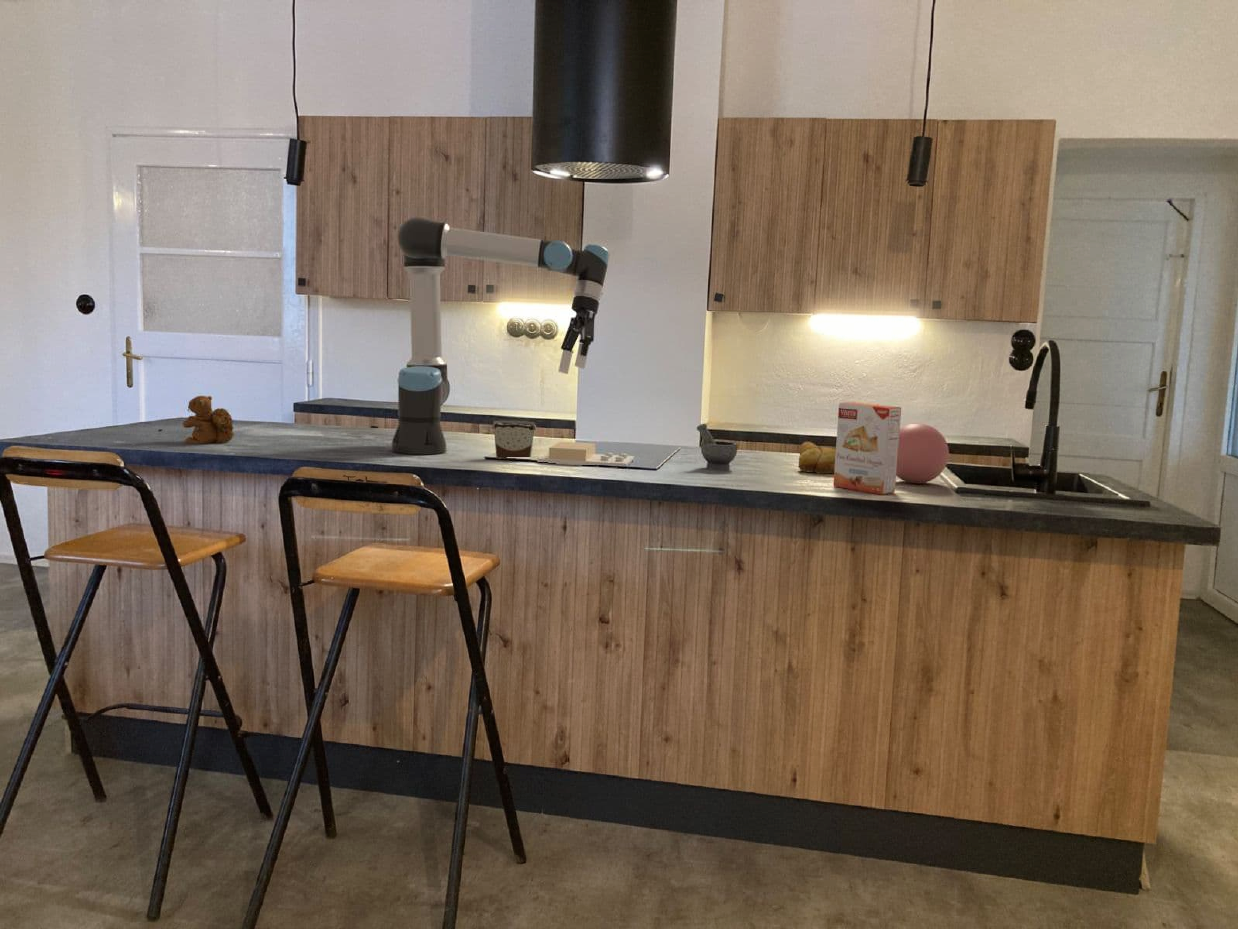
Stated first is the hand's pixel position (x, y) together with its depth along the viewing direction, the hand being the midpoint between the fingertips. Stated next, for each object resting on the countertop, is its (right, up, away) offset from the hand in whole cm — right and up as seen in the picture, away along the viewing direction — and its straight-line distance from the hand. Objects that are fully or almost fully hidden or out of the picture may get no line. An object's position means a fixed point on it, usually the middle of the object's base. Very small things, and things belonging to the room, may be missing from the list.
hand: (571, 370), depth 289 cm
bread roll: (+68, -29, -14) cm, 76 cm away
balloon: (+90, -31, -25) cm, 99 cm away
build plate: (+5, -26, -12) cm, 29 cm away
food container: (-15, -25, -9) cm, 30 cm away
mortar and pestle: (+40, -28, -14) cm, 51 cm away
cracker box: (+73, -33, -43) cm, 91 cm away
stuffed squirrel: (-102, -21, -2) cm, 104 cm away
